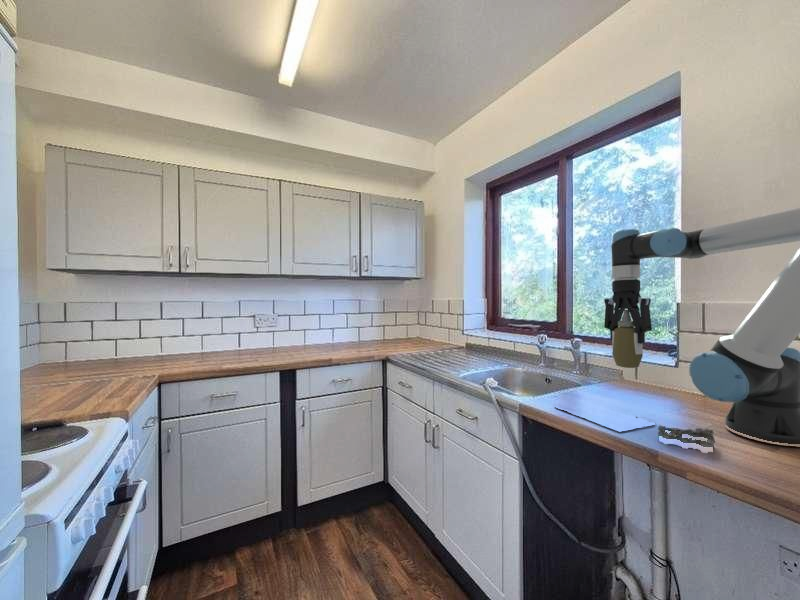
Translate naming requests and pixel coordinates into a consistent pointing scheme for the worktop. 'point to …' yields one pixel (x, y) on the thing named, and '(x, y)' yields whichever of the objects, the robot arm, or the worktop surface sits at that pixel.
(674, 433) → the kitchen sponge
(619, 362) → the squeeze bottle
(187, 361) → the worktop surface
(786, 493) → the worktop surface
